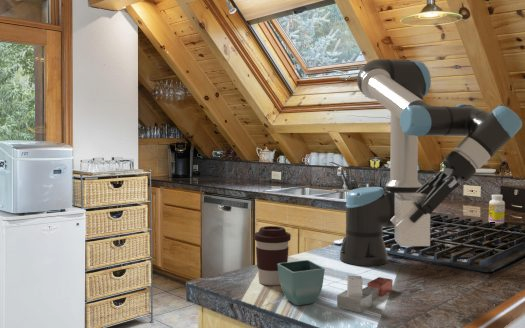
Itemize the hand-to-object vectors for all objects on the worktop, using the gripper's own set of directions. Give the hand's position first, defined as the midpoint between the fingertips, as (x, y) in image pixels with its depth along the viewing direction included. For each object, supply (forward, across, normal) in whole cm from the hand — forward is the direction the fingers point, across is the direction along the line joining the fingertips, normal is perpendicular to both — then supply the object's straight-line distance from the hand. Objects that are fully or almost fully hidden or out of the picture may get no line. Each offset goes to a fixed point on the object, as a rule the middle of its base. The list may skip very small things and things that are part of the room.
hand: (397, 226), depth 127 cm
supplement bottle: (-34, +115, -62) cm, 135 cm away
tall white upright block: (0, 0, -5) cm, 5 cm away
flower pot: (+30, -4, +4) cm, 30 cm away
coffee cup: (+35, +12, +10) cm, 38 cm away
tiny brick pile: (+18, 0, -8) cm, 19 cm away
